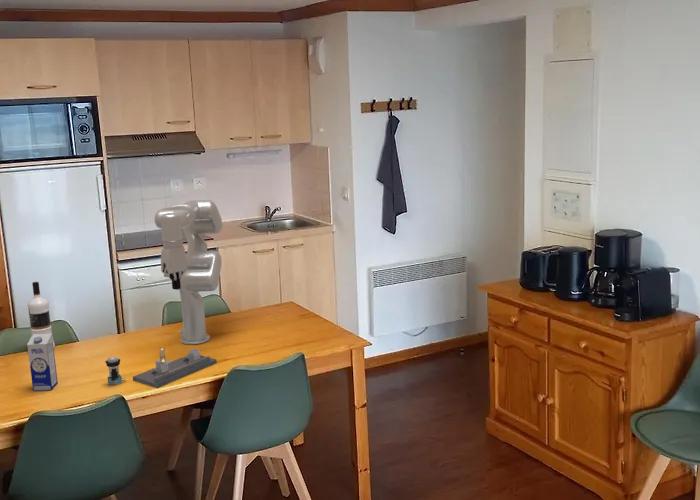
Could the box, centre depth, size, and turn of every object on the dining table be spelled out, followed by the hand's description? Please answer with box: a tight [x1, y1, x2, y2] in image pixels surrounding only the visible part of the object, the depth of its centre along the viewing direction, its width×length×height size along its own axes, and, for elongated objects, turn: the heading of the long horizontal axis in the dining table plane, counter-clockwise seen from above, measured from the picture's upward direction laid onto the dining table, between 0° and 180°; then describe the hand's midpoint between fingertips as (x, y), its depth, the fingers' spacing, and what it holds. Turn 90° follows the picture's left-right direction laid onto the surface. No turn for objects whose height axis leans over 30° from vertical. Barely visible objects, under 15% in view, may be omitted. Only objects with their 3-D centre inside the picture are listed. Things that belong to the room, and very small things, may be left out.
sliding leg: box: [151, 347, 172, 376], centre depth 283 cm, size 9×3×11 cm, turn 54°
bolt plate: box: [132, 348, 218, 389], centre depth 291 cm, size 14×30×6 cm, turn 144°
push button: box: [105, 356, 127, 386], centre depth 281 cm, size 7×5×10 cm
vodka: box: [26, 281, 56, 348], centre depth 319 cm, size 9×9×30 cm
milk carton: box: [26, 333, 59, 392], centre depth 278 cm, size 7×7×20 cm
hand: (176, 288), depth 301 cm, fingers closed
